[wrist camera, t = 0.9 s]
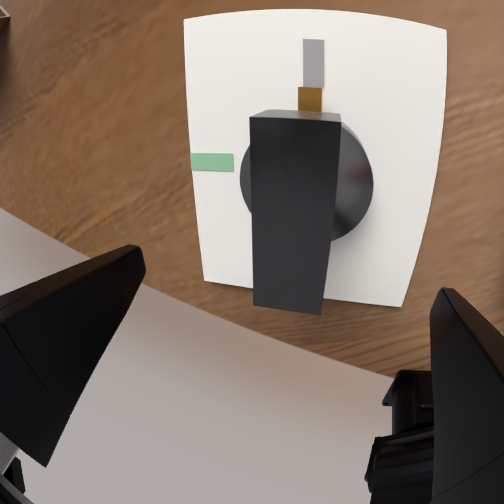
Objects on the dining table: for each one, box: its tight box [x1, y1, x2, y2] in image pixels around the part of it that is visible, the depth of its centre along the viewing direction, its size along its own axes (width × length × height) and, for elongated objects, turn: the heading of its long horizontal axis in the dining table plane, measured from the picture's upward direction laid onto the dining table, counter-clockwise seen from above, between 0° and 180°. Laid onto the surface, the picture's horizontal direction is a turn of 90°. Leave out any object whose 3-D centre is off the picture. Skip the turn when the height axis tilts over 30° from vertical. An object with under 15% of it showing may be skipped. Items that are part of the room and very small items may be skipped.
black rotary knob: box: [240, 87, 374, 315], centre depth 14 cm, size 9×7×8 cm
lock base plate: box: [184, 9, 447, 307], centre depth 19 cm, size 20×16×1 cm
